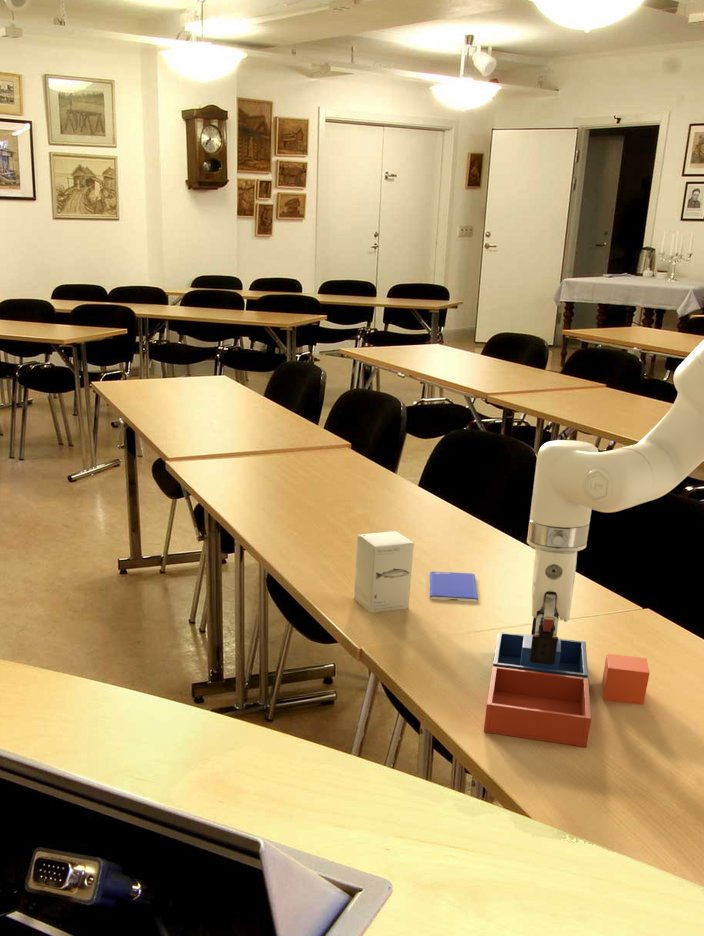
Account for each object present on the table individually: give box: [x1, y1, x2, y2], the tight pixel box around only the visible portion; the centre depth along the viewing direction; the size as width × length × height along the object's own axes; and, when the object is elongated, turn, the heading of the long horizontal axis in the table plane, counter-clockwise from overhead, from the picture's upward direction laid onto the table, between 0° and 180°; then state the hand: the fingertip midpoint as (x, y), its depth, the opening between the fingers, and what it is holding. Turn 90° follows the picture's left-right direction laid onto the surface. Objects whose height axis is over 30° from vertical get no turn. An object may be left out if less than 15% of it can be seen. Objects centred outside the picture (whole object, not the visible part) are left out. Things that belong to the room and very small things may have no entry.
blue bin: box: [492, 631, 589, 679], centre depth 131 cm, size 12×12×4 cm
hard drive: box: [428, 571, 479, 603], centre depth 164 cm, size 2×8×12 cm
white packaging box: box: [353, 530, 415, 614], centre depth 156 cm, size 7×7×13 cm
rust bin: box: [483, 665, 592, 748], centre depth 119 cm, size 12×12×4 cm
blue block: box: [520, 634, 562, 670], centre depth 130 cm, size 5×5×5 cm
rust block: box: [601, 653, 650, 706], centre depth 124 cm, size 5×5×5 cm
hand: (542, 649), depth 130 cm, fingers open, 9 cm apart
